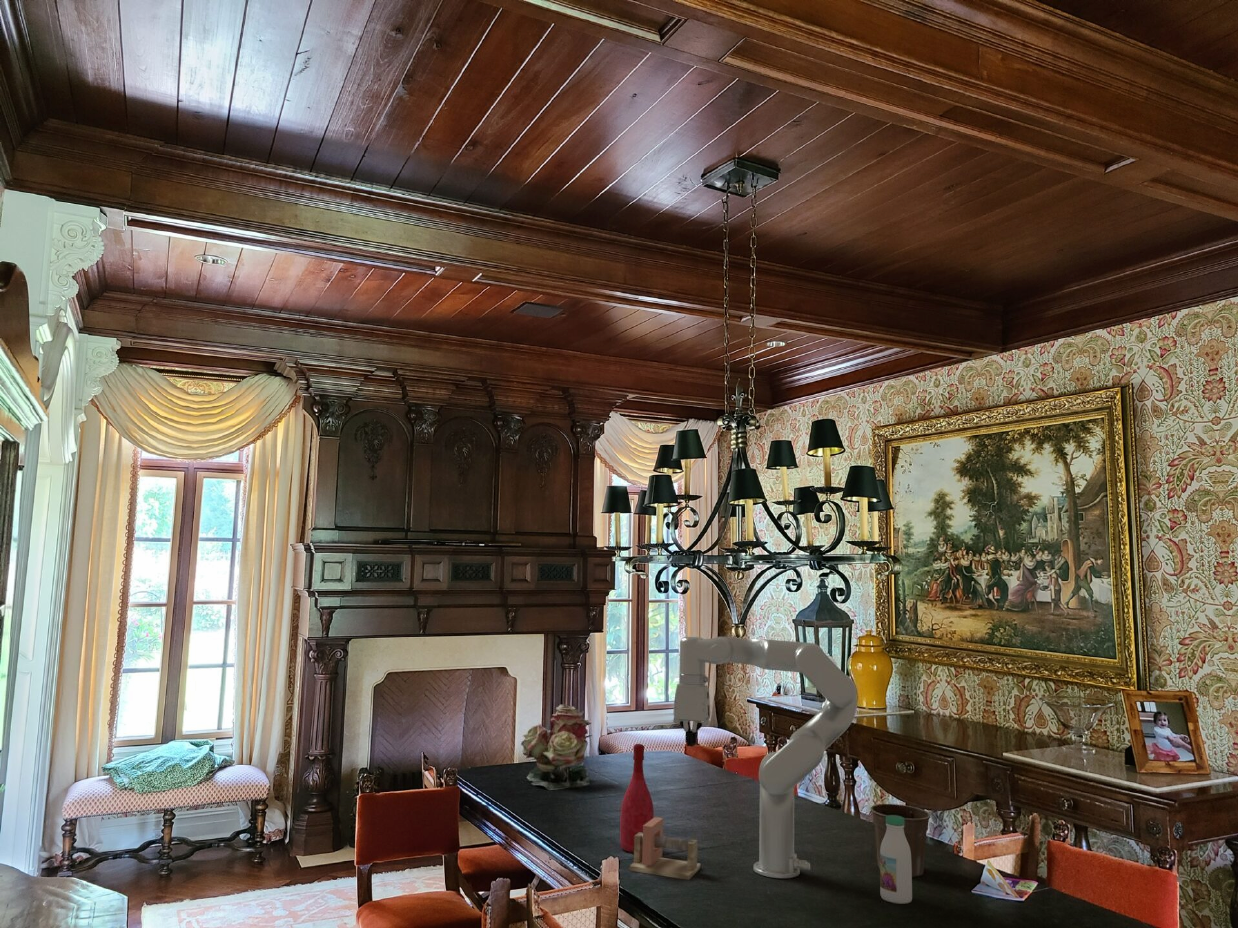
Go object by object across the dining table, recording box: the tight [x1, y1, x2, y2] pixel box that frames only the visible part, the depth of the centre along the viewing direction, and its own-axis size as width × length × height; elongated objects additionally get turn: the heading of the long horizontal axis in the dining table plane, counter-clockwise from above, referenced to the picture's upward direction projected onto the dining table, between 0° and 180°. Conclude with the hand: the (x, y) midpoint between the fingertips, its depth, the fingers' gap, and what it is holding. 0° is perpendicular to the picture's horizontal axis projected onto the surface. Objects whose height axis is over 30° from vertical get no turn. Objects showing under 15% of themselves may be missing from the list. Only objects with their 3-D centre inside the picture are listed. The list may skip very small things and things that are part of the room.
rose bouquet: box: [520, 703, 593, 791], centre depth 340 cm, size 26×29×30 cm
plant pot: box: [870, 803, 932, 878], centre depth 242 cm, size 16×16×16 cm
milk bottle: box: [879, 815, 913, 905], centre depth 220 cm, size 8×8×20 cm
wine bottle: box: [619, 743, 655, 854], centre depth 256 cm, size 10×10×30 cm
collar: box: [642, 816, 664, 865], centre depth 238 cm, size 2×10×10 cm, turn 159°
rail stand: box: [628, 832, 701, 881], centre depth 237 cm, size 17×11×9 cm, turn 69°
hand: (691, 745), depth 247 cm, fingers closed
